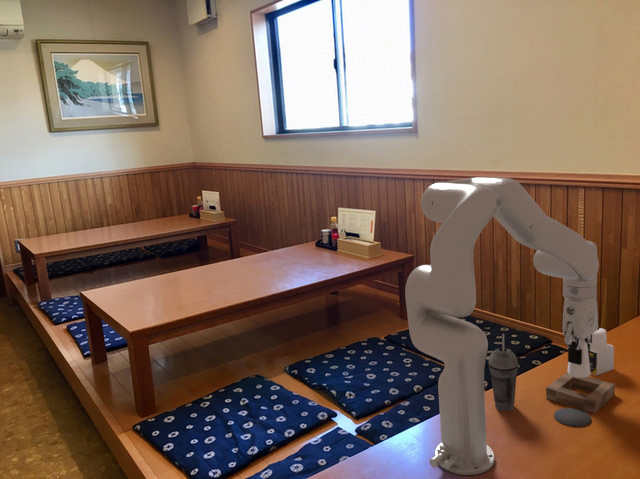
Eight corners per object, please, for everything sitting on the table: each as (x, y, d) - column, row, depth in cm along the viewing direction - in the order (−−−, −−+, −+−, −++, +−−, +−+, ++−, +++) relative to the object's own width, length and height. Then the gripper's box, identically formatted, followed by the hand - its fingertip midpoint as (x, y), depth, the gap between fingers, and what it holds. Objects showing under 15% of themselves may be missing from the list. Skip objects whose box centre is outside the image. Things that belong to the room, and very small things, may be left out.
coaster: (581, 430, 126) (582, 429, 126) (548, 419, 132) (548, 417, 132) (596, 416, 131) (596, 415, 131) (563, 406, 137) (563, 404, 137)
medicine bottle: (574, 367, 157) (574, 327, 154) (592, 360, 160) (592, 322, 157) (596, 376, 150) (596, 335, 148) (614, 369, 153) (614, 329, 151)
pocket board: (594, 413, 132) (594, 402, 132) (546, 398, 141) (546, 387, 141) (614, 394, 140) (614, 383, 139) (567, 381, 149) (567, 371, 148)
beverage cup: (515, 398, 142) (513, 326, 139) (523, 413, 135) (521, 337, 131) (487, 400, 143) (484, 328, 139) (492, 414, 136) (490, 338, 132)
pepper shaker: (576, 379, 136) (576, 337, 134) (562, 371, 141) (562, 330, 139) (595, 376, 137) (596, 334, 135) (581, 367, 142) (581, 327, 140)
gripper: (579, 301, 127) (579, 375, 130) (609, 285, 137) (608, 353, 141) (548, 296, 132) (548, 367, 136) (579, 280, 143) (578, 346, 146)
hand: (578, 359), depth 138 cm, fingers closed on pepper shaker, 3 cm apart
